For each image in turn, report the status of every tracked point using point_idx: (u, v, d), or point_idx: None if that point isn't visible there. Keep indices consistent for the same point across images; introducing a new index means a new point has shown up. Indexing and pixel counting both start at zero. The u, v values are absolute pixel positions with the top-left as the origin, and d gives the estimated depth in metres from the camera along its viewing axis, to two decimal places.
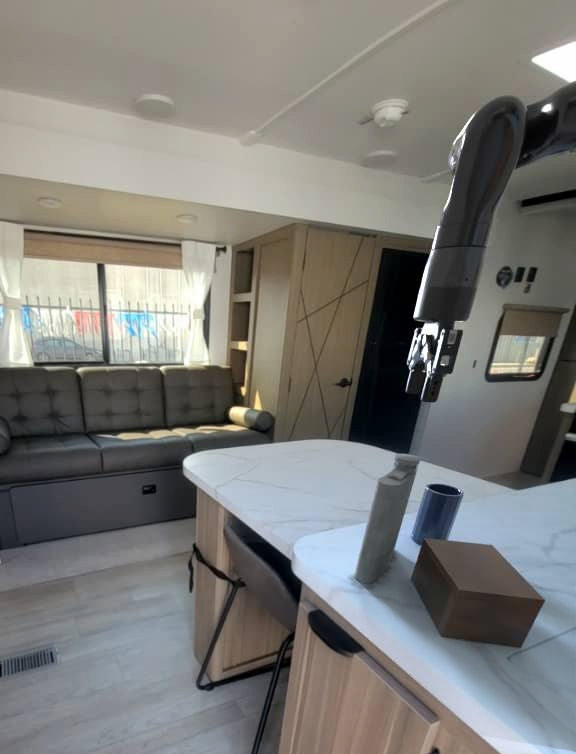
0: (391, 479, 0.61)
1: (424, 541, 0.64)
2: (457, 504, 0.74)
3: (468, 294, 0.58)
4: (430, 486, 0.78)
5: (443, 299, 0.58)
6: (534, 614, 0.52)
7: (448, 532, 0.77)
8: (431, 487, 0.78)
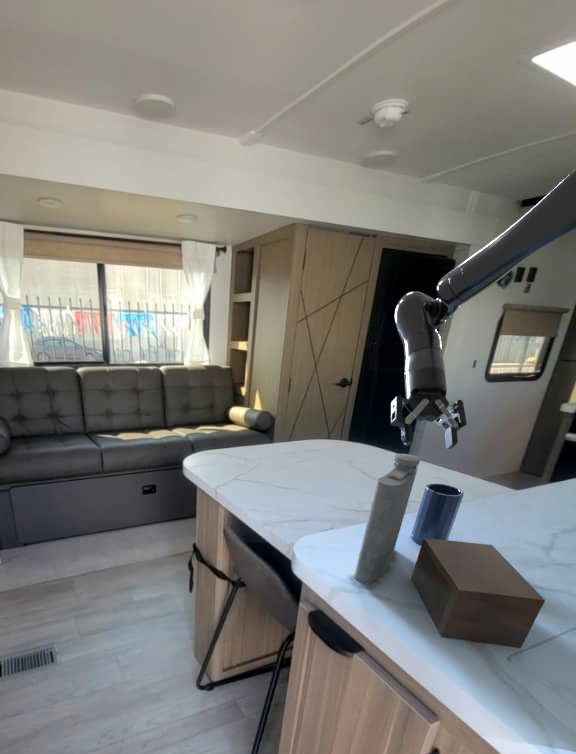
0: (391, 479, 0.61)
1: (424, 541, 0.64)
2: (457, 504, 0.74)
3: (414, 375, 0.85)
4: (430, 486, 0.78)
5: (405, 386, 0.88)
6: (534, 614, 0.52)
7: (448, 532, 0.77)
8: (431, 487, 0.78)
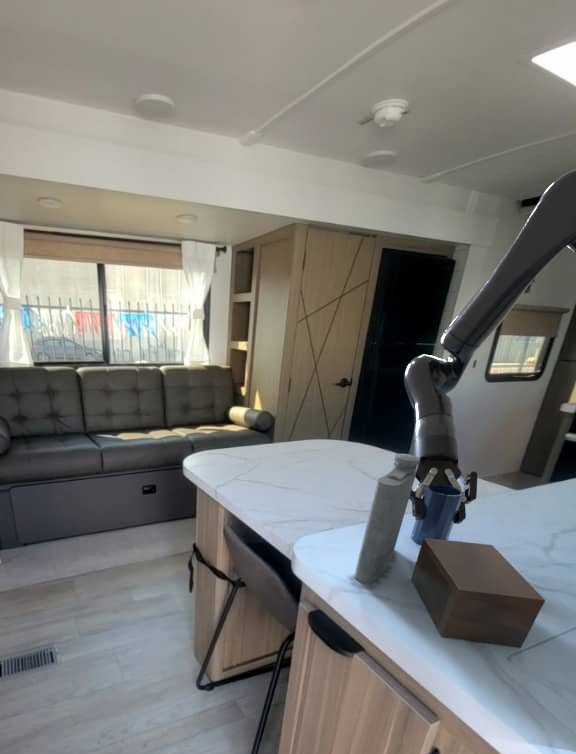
0: (391, 479, 0.61)
1: (424, 541, 0.64)
2: (457, 504, 0.74)
3: (421, 442, 0.80)
4: (430, 486, 0.78)
5: (414, 453, 0.83)
6: (534, 614, 0.52)
7: (448, 532, 0.77)
8: (431, 487, 0.78)
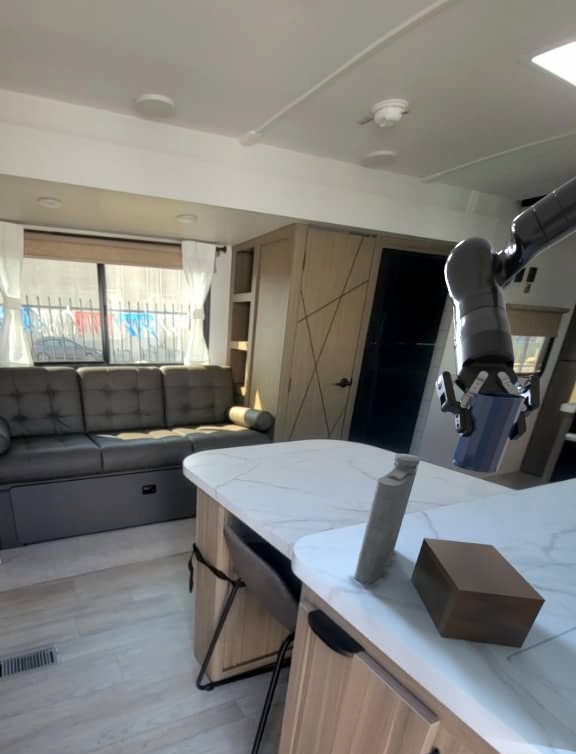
0: (391, 479, 0.61)
1: (424, 541, 0.64)
2: (517, 411, 0.57)
3: (466, 342, 0.64)
4: (479, 394, 0.61)
5: (455, 360, 0.67)
6: (534, 614, 0.52)
7: (503, 450, 0.60)
8: None
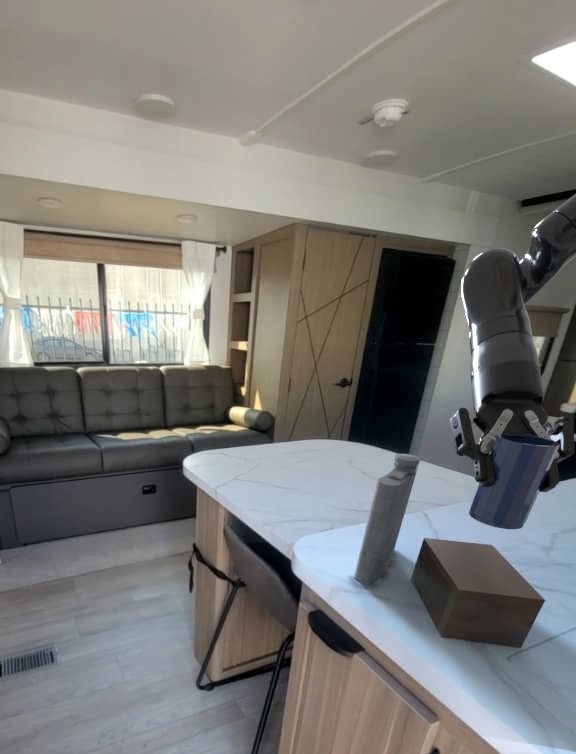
0: (391, 479, 0.61)
1: (424, 541, 0.64)
2: (550, 460, 0.48)
3: (486, 374, 0.54)
4: (502, 436, 0.52)
5: (472, 392, 0.57)
6: (534, 614, 0.52)
7: (531, 504, 0.51)
8: (503, 438, 0.52)
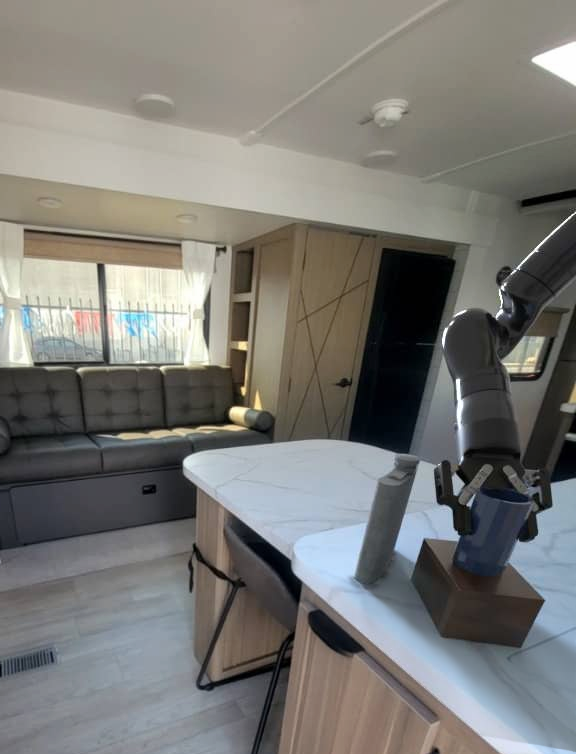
0: (391, 479, 0.61)
1: (424, 541, 0.64)
2: (525, 516, 0.51)
3: (468, 429, 0.58)
4: (482, 489, 0.55)
5: None
6: (534, 614, 0.52)
7: (509, 555, 0.54)
8: (483, 491, 0.55)
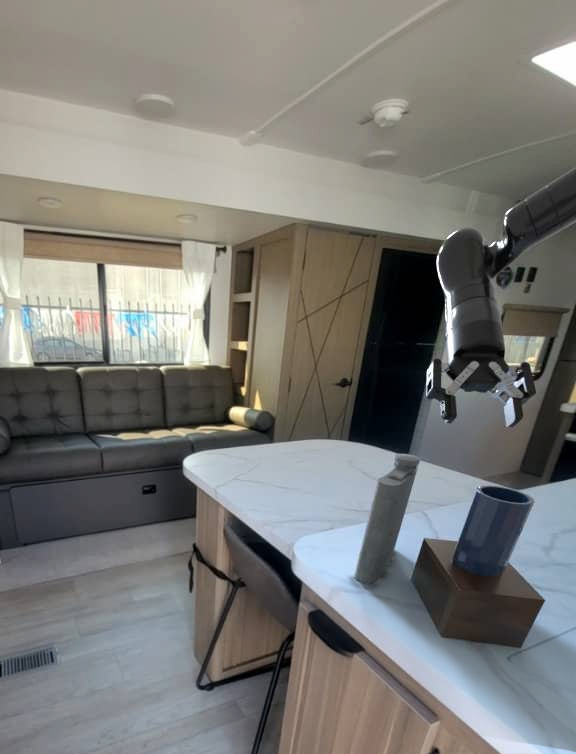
0: (391, 479, 0.61)
1: (424, 541, 0.64)
2: (525, 516, 0.51)
3: (457, 333, 0.64)
4: (482, 489, 0.55)
5: None
6: (534, 614, 0.52)
7: (509, 555, 0.54)
8: (483, 491, 0.55)
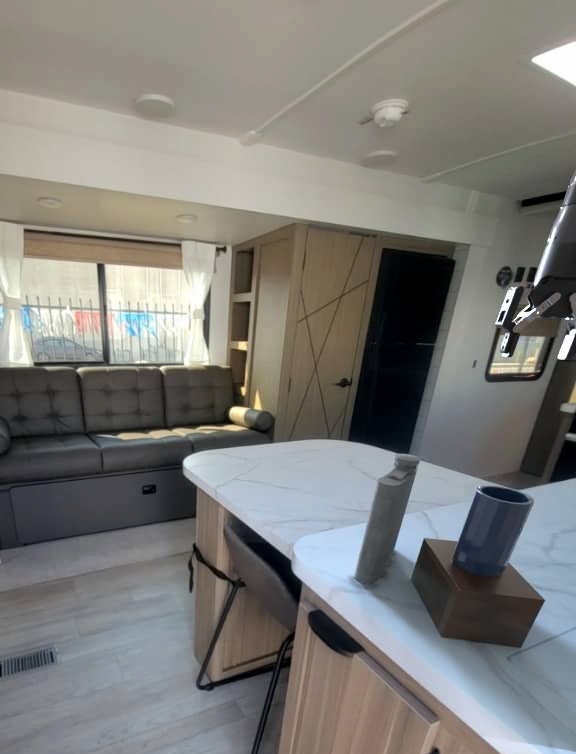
0: (391, 479, 0.61)
1: (424, 541, 0.64)
2: (525, 516, 0.51)
3: (557, 251, 0.60)
4: (482, 489, 0.55)
5: (541, 259, 0.63)
6: (534, 614, 0.52)
7: (509, 555, 0.54)
8: (483, 491, 0.55)
